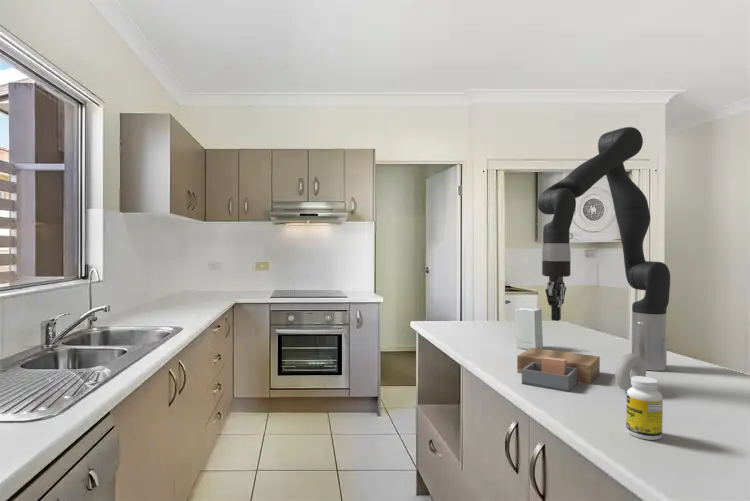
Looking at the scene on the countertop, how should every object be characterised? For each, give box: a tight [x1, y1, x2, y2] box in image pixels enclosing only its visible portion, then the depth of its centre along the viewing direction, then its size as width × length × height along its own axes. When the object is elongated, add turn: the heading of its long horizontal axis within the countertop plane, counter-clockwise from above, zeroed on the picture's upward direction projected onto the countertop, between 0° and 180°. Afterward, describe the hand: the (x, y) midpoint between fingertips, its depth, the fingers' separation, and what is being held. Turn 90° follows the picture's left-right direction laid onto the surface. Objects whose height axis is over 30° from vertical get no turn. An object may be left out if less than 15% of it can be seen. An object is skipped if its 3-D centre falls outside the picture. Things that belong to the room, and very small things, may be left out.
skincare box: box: [514, 307, 544, 351], centre depth 172 cm, size 8×6×15 cm
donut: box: [614, 352, 647, 393], centre depth 120 cm, size 10×3×10 cm, turn 117°
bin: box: [521, 362, 578, 393], centre depth 127 cm, size 12×10×4 cm
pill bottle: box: [625, 376, 664, 441], centre depth 92 cm, size 6×6×11 cm
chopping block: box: [516, 348, 601, 385], centre depth 138 cm, size 20×14×5 cm
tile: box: [542, 356, 566, 376], centre depth 128 cm, size 6×6×2 cm
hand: (556, 320), depth 132 cm, fingers closed
